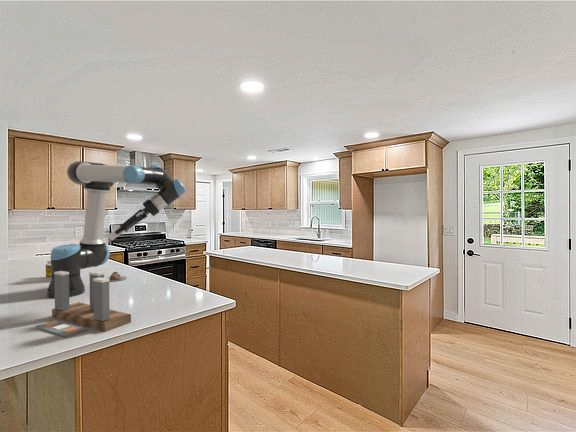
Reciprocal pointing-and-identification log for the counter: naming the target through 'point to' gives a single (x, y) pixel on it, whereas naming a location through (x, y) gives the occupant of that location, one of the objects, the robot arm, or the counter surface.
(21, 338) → the counter surface
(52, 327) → the pattern card
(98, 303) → the key outer
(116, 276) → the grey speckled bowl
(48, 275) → the supplement bottle
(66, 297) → the key inner
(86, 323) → the brown wooden board
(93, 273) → the key middle
